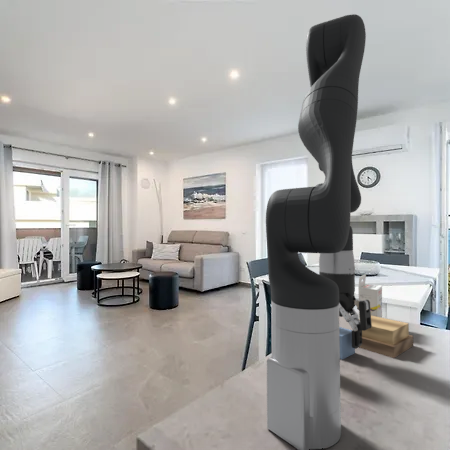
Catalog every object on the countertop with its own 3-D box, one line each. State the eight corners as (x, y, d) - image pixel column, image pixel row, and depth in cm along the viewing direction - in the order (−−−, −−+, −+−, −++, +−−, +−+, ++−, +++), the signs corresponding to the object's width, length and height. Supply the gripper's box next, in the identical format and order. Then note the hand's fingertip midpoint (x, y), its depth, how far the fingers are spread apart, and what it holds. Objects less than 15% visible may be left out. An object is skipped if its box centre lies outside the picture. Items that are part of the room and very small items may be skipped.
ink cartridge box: (378, 334, 78) (377, 278, 79) (358, 330, 81) (357, 276, 82) (383, 325, 85) (382, 274, 86) (364, 322, 88) (363, 273, 88)
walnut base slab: (393, 361, 63) (393, 347, 63) (345, 346, 72) (345, 333, 72) (413, 348, 70) (413, 335, 70) (367, 336, 79) (366, 324, 79)
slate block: (342, 360, 62) (341, 336, 63) (319, 352, 67) (319, 329, 67) (355, 353, 66) (354, 330, 66) (332, 346, 70) (332, 325, 70)
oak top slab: (392, 345, 64) (392, 331, 64) (353, 334, 71) (352, 321, 71) (408, 336, 70) (408, 323, 70) (370, 326, 77) (370, 315, 77)
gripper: (300, 268, 70) (301, 336, 70) (359, 275, 59) (360, 356, 59) (318, 265, 75) (319, 330, 75) (376, 271, 64) (377, 347, 63)
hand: (337, 341), depth 67 cm, fingers open, 8 cm apart
